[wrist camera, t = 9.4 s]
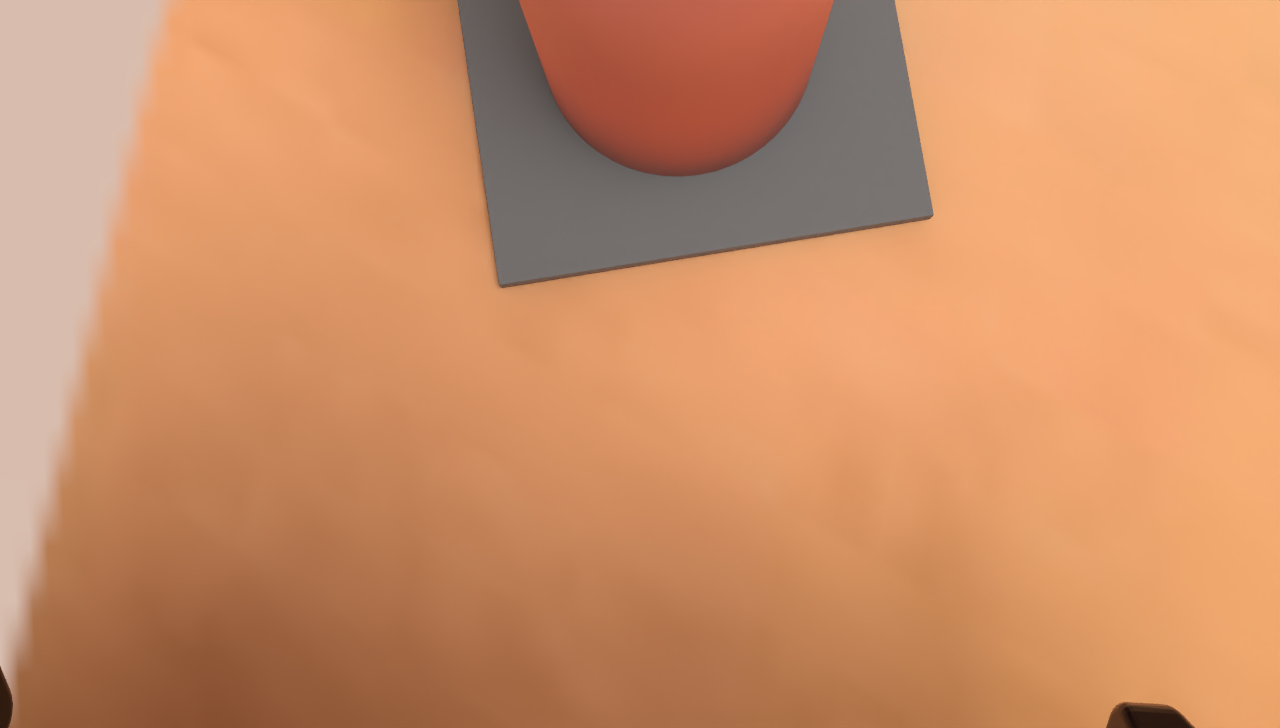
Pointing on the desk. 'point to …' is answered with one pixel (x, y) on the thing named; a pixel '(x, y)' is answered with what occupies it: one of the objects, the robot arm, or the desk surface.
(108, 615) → the desk surface
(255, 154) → the desk surface
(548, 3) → the red plug
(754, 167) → the pad
